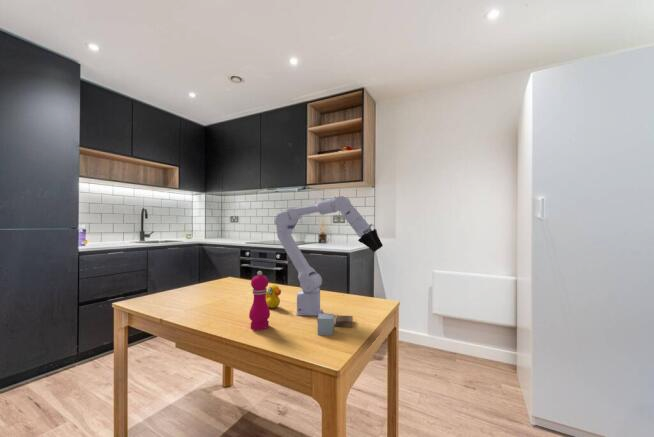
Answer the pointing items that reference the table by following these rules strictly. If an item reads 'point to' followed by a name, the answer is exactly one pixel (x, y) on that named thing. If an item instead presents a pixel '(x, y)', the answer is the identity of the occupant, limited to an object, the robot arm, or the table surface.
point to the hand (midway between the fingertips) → (378, 248)
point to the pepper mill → (259, 303)
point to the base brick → (344, 321)
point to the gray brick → (325, 324)
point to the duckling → (273, 296)
